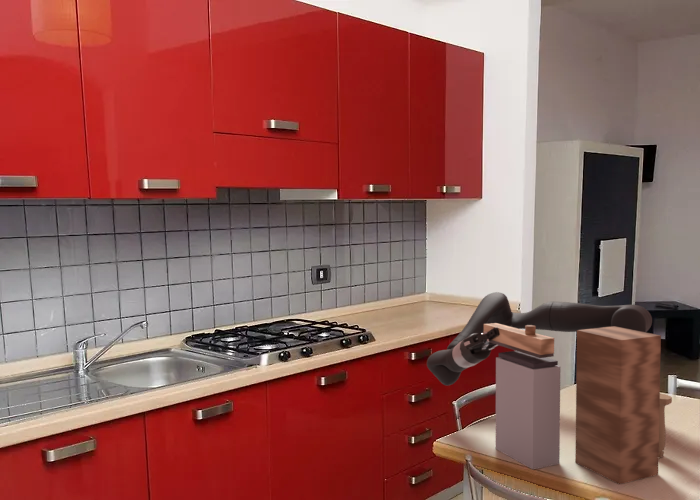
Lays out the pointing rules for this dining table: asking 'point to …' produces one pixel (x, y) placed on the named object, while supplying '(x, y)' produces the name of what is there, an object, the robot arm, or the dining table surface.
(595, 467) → the shelf block
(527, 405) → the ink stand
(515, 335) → the stamp
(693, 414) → the dining table surface
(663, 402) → the handle
